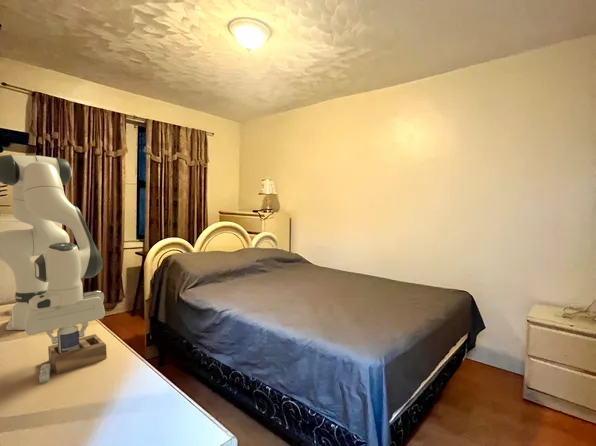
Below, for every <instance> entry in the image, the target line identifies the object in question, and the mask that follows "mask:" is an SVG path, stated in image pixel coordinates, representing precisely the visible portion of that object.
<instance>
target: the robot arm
mask: <svg viewBox="0 0 596 446" xmlns="http://www.w3.org/2000/svg"><path fill="white" fill-rule="evenodd" d="M72 173H73V170H72V167H71V164H70V163H69V162H68V160H67V159H64V158H60V157H51V156H43V155H12V154H4V155H0V183H1V184H3V185H7V186H11V201H12V202H11V205H12V212H11V213H12V215H13V217H14V218H15V219H16V220H17V221H19V222H22V223H25V224H28V225H30V226H32V227H33V228H32V227H31V228H30V229H27V228H26V229H13V230H11V229H10V230H4V231H0V261H2V262H4V263H5V264H6V265H8V266H9V268H10V269H11V271H12V272H13V275H14V280H15V288H16V291H15V294H14V298H15V302H16V303H15V304H14V305H13V306H12V308H11V309H9V310H8V311H9V312H8V314H9V316H10V319H9V321H8V323H7V324H6V326H5V330H6V331H13V330H14V331H15V330H16V331H17V330H18V331H19V330H20V331H23V330H24V331H25V334H26V335H28V336H33V335H38V334H42V333H46V335H47V336H48V337H49V338H50V340H51V345H55V344H58V337H57V336H54V335H53V334H54V331H55V330H59V329H60V328H64V327H65V323H68V322H72V324H73V325H75V326H77V325H80V324H81V328H80V330H78V331H79V338H82V337H86V336H85V335H86V334H85V332H86V330H87V328H88V326H89V322H93V321H97V320H100V319H101V320H102V319H103V318H104V317H105V315H106V312H105V307H104V306H105V305H104V300H105V294H104V292H103V291H100V290H93V291H87V292H83V282H82V279H89V278H95V277H96V276H97V275H98V274H99V273H100V272H101V270H102V269H103V267H104V262H103V258H102V255H101V253H100V251H99V249H98V247H97V246H96V244H95V241H94V240H93V237H92V235H91V232H90V230H89V228H88V225H87V223H86V220H85V218H84V216H83V214H82V212H81V210H80V209H79V207H78V206H76V205H74V204H72V203H71V202H70V201H69V199H68V197H67V196H66V194H65V191H64V190H65V189H64V186H65V185H67V184H68V183H70V181H71V179H72V175H73V174H72ZM55 223H58V224H61V225H64V226H66V227H68V229H70V230H71V231H72V234H73V236H74V239H75V241H76V244H74V243H71V241H70V236H69V234H68V232H66V230H65V229H63V228H61V227H59V226H57V224H55ZM37 256H38V257H37ZM31 257H37V258H35V260H34V262H33V261H32V260H31Z"/></svg>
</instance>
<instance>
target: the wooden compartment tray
mask: <svg viewBox="0 0 596 446" xmlns="http://www.w3.org/2000/svg"><path fill="white" fill-rule="evenodd" d="M47 348H48V349H47V350H48V351H47V352H48V361H49V363H51V367H52V368H53V369H54V372H55V373H56V374H57V375H58V374H60V373H64V372H67V371H71V370H74V369H76V368H79V367H84V366H86V365H89V364H93V363H96V362H99V361H102V360H106V359H107V358H108V356H107V344H106V343H105V342H104V341H103V340H102V339H101V338H100V337H99V336H98V335H97V334H95V333H93V334H91V335H86V336H83V337H80V338H79V349H77V350H73V351H70V352H66V353H62V354H59V352H58V343H56V344H53V345H52V344H51V345H48V346H47Z"/></svg>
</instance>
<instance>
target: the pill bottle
mask: <svg viewBox="0 0 596 446" xmlns="http://www.w3.org/2000/svg"><path fill="white" fill-rule="evenodd" d="M79 331H80V330H79V326H77V325H73V324H72V322H68V323H65V327H64V328H60V329H57V332H56V333H57V334H56V335H57V337H58V343H57V344H58V352H59V354H62V353H66V352H70V351H73V350H77V349H79Z"/></svg>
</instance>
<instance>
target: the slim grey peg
mask: <svg viewBox="0 0 596 446" xmlns="http://www.w3.org/2000/svg"><path fill="white" fill-rule="evenodd" d="M39 369H40V371H39V375H38V379H39V384H43V383H47V382H50V381H51V372H52V365H51V363H50V362H49V363H45V364H41V365H40V368H39Z"/></svg>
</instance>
